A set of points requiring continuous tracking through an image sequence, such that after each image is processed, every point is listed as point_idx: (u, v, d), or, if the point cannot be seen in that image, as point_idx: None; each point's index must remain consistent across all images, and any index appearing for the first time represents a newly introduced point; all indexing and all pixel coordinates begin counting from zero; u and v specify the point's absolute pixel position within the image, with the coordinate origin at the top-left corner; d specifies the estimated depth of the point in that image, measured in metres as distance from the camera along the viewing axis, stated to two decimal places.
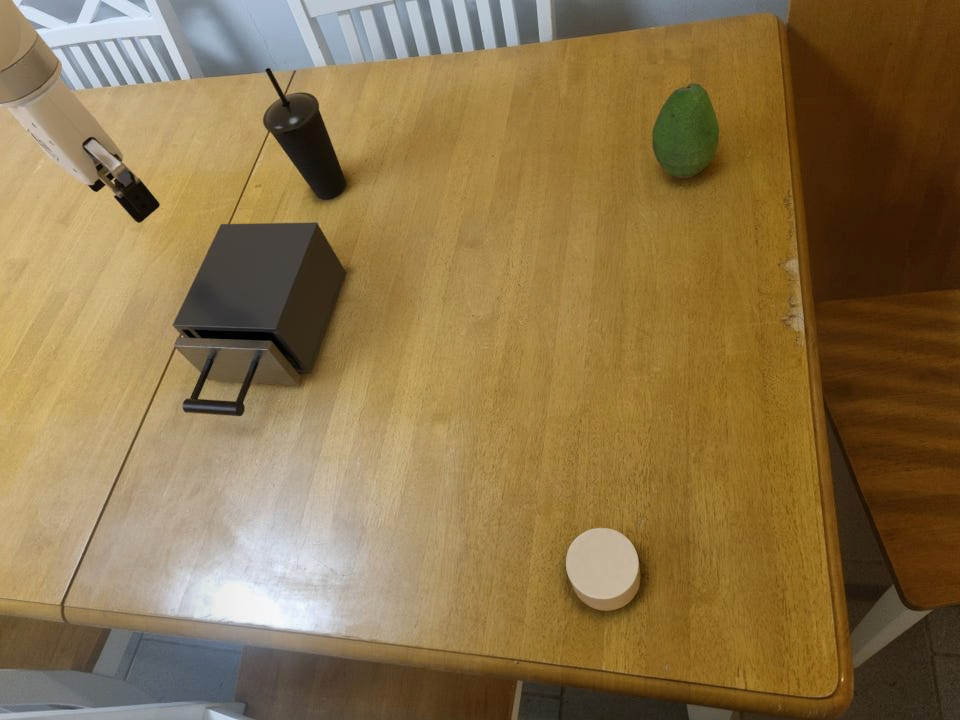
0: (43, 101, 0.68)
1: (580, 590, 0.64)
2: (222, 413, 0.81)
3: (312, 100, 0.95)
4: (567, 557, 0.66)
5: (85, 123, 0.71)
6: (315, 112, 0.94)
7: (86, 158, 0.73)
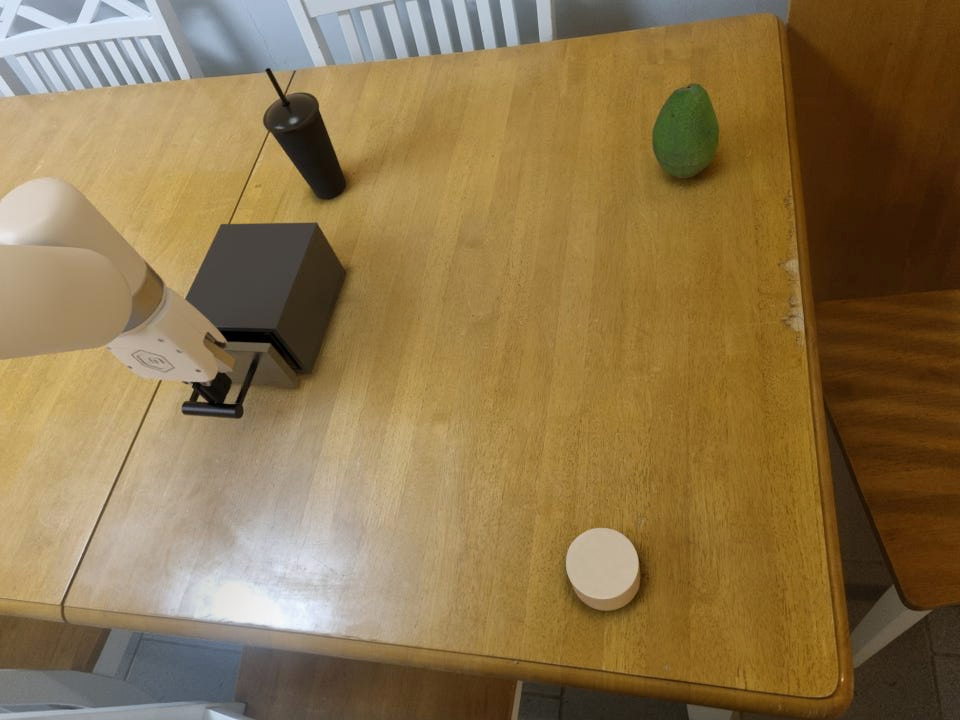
0: (169, 313, 0.68)
1: (580, 590, 0.64)
2: (221, 416, 0.80)
3: (312, 100, 0.95)
4: (567, 557, 0.66)
5: (200, 321, 0.71)
6: (315, 112, 0.94)
7: (208, 354, 0.72)
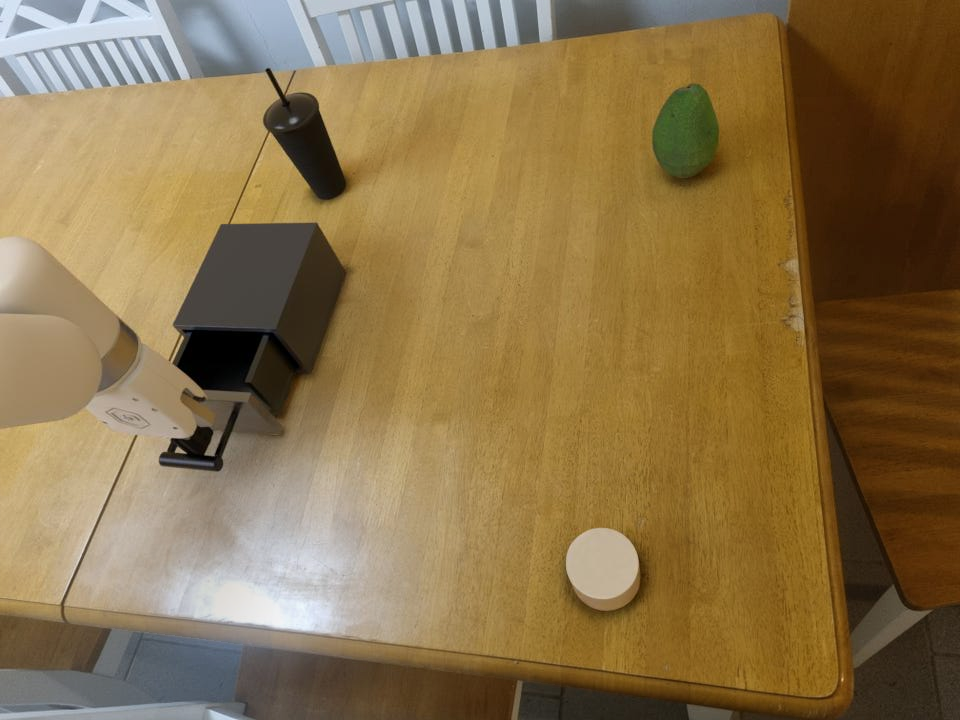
0: (144, 371, 0.65)
1: (580, 590, 0.64)
2: (200, 468, 0.77)
3: (312, 100, 0.95)
4: (567, 557, 0.66)
5: (177, 377, 0.69)
6: (315, 112, 0.94)
7: (185, 411, 0.70)
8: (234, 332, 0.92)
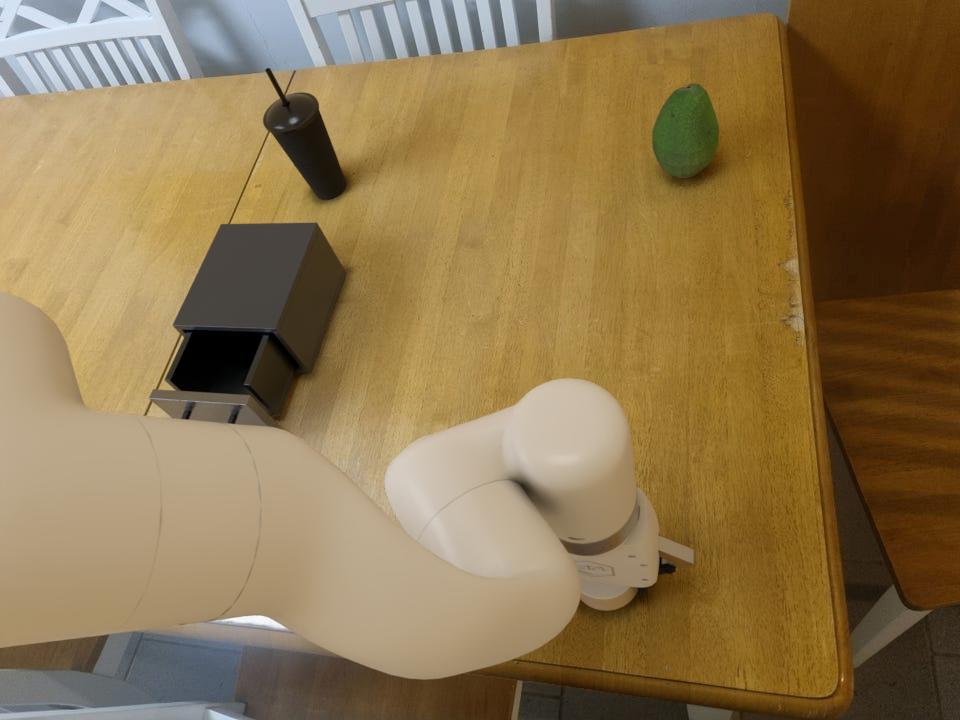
0: (649, 524, 0.53)
1: None
2: None
3: (312, 100, 0.95)
4: None
5: (656, 521, 0.56)
6: (315, 112, 0.94)
7: (658, 559, 0.57)
8: (233, 334, 0.92)
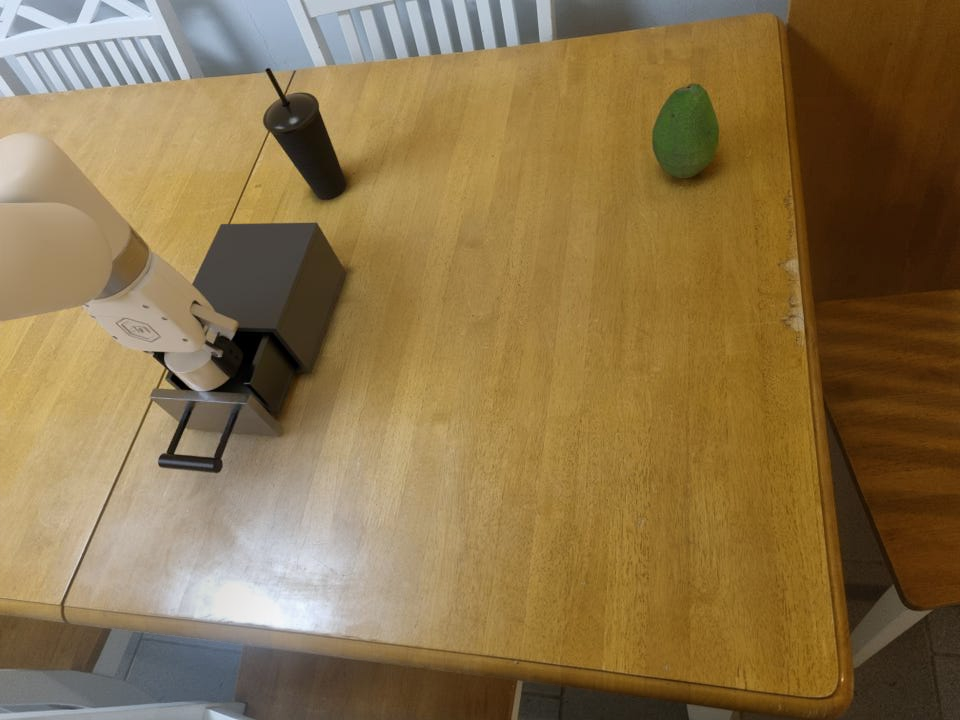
0: (154, 278, 0.66)
1: (169, 367, 0.77)
2: (199, 470, 0.77)
3: (312, 100, 0.95)
4: None
5: (187, 288, 0.69)
6: (315, 112, 0.94)
7: (195, 323, 0.70)
8: None
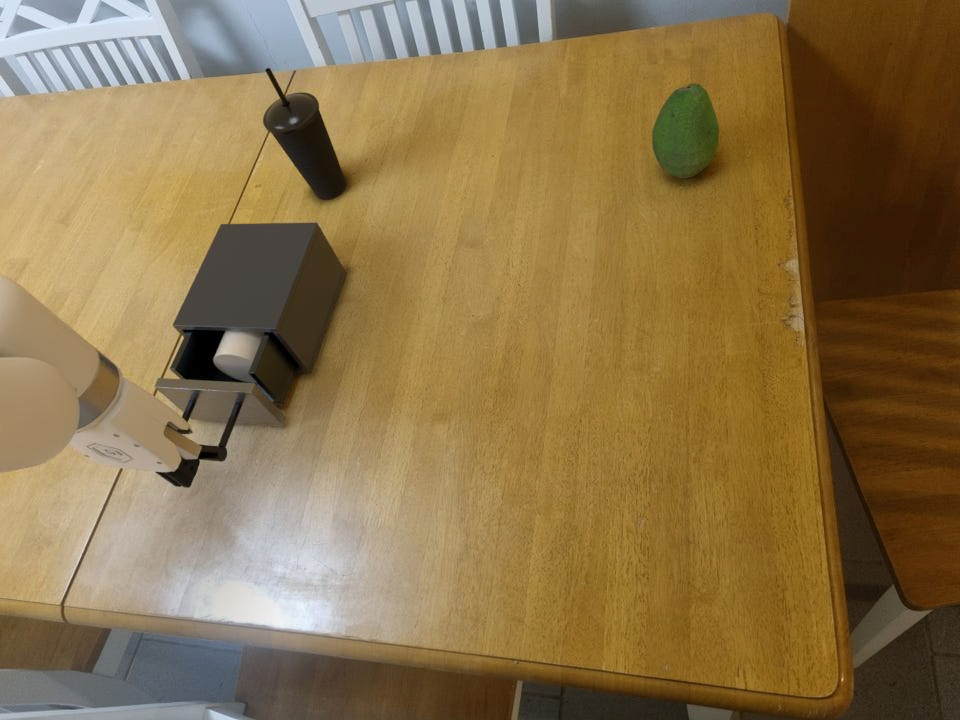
0: (125, 407, 0.63)
1: None
2: (204, 458, 0.78)
3: (312, 100, 0.95)
4: None
5: (160, 411, 0.67)
6: (315, 112, 0.94)
7: (169, 445, 0.68)
8: None
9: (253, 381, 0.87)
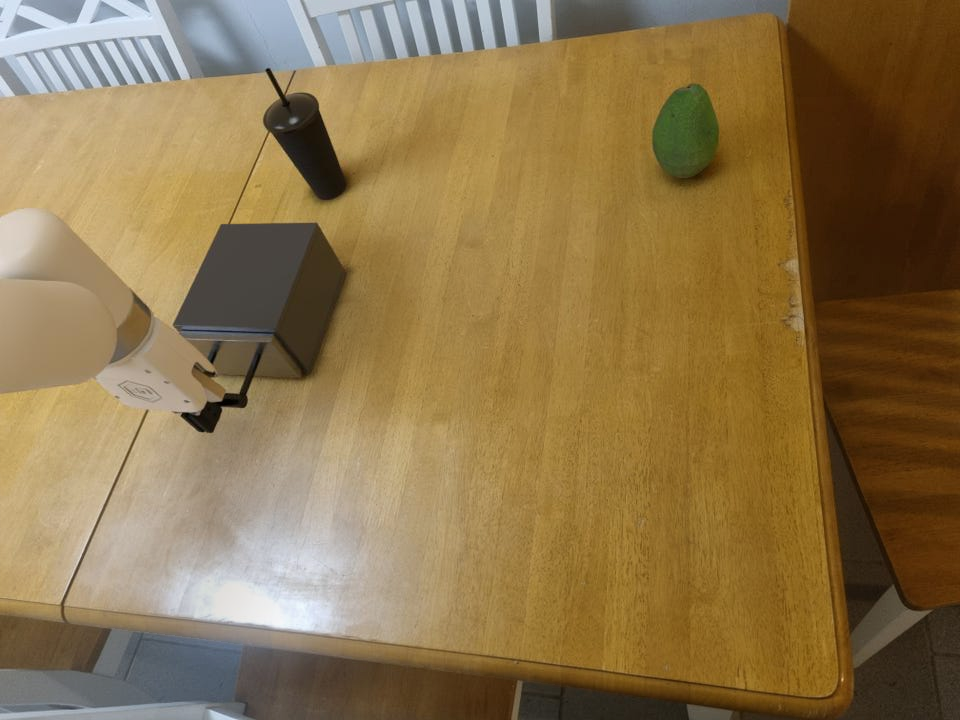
0: (156, 344, 0.66)
1: None
2: (225, 405, 0.81)
3: (312, 100, 0.95)
4: None
5: (188, 351, 0.70)
6: (315, 112, 0.94)
7: (196, 384, 0.71)
8: None
9: None
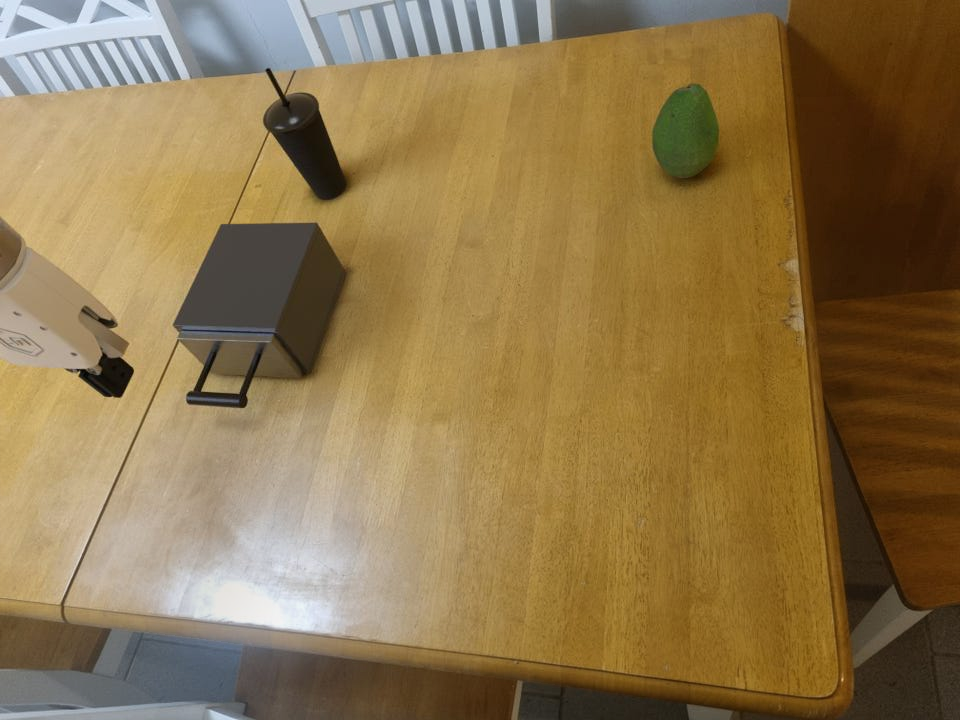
0: (26, 279, 0.53)
1: None
2: (225, 405, 0.81)
3: (312, 100, 0.95)
4: None
5: (74, 291, 0.57)
6: (315, 112, 0.94)
7: (86, 333, 0.58)
8: None
9: None
